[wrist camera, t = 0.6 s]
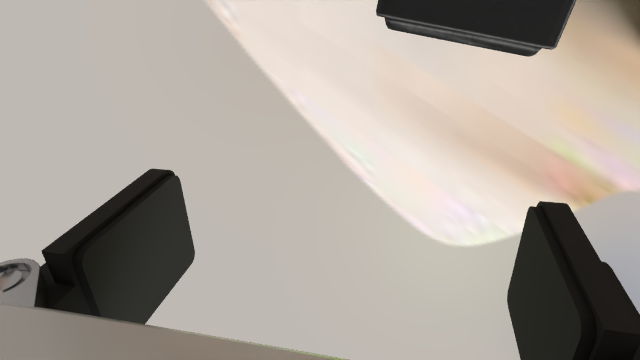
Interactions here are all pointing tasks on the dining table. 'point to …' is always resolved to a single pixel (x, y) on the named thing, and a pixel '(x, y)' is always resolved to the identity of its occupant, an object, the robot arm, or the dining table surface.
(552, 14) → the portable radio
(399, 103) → the dining table surface
